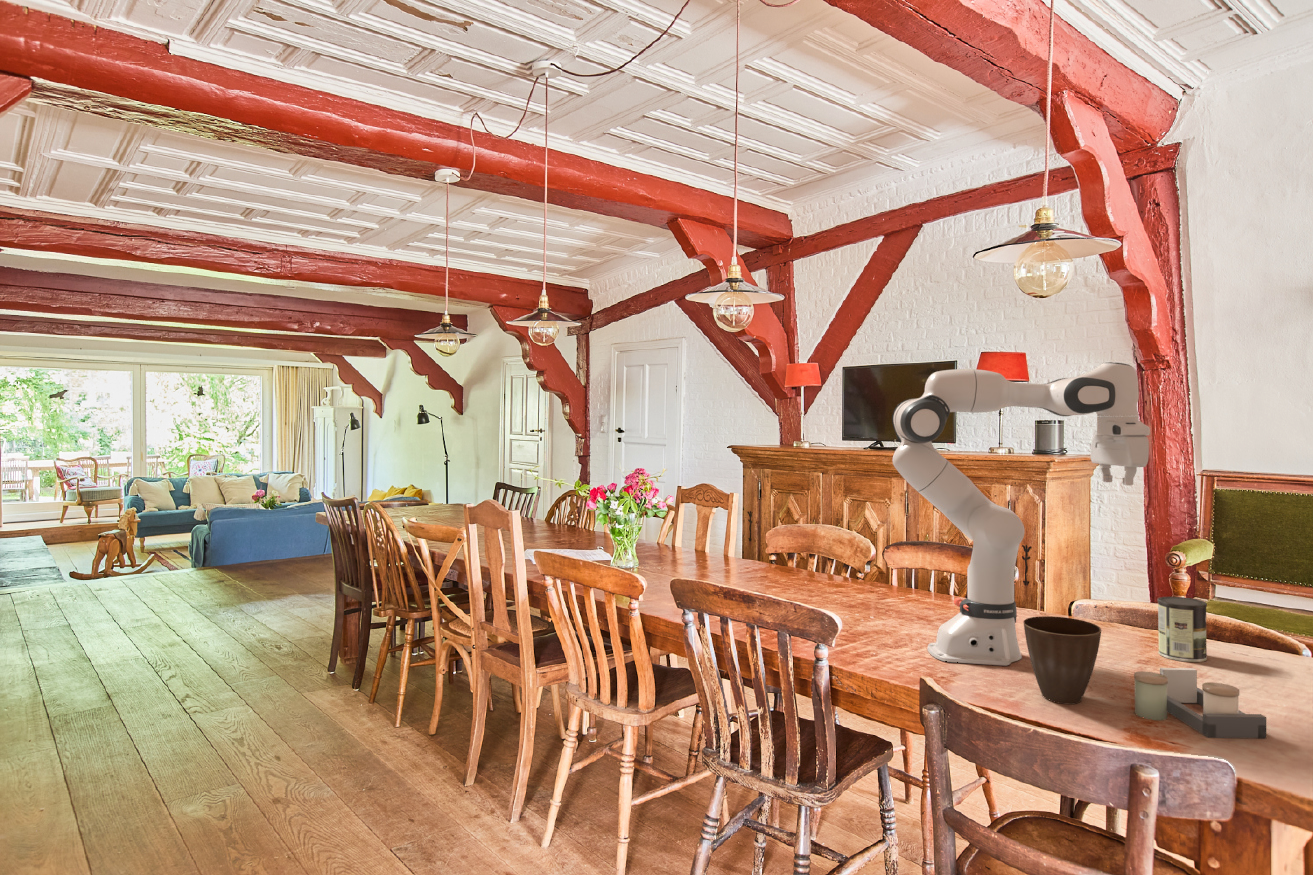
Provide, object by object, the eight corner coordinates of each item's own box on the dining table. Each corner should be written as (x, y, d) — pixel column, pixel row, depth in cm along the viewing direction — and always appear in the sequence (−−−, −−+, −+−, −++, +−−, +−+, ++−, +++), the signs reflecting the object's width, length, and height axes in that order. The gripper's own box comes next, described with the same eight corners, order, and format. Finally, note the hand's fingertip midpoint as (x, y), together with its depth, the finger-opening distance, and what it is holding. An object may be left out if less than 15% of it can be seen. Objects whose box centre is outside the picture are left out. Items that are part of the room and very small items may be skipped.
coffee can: (1194, 650, 196) (1194, 596, 196) (1215, 663, 186) (1215, 606, 186) (1150, 649, 199) (1150, 595, 198) (1168, 661, 188) (1168, 604, 188)
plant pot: (1118, 707, 159) (1118, 631, 159) (1057, 714, 156) (1056, 636, 156) (1066, 683, 174) (1065, 614, 173) (1008, 689, 171) (1008, 618, 170)
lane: (1207, 737, 144) (1207, 716, 143) (1144, 697, 164) (1144, 679, 164) (1266, 738, 143) (1266, 717, 143) (1195, 697, 164) (1195, 679, 164)
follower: (1163, 702, 161) (1163, 669, 161) (1153, 696, 164) (1153, 664, 164) (1197, 702, 160) (1196, 669, 160) (1186, 696, 164) (1186, 664, 164)
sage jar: (1144, 720, 152) (1143, 680, 152) (1128, 709, 158) (1128, 671, 158) (1174, 720, 152) (1174, 681, 152) (1157, 709, 158) (1157, 671, 157)
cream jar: (1214, 734, 145) (1214, 692, 145) (1195, 722, 151) (1195, 682, 151) (1246, 734, 145) (1246, 692, 144) (1226, 722, 150) (1226, 682, 150)
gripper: (1083, 427, 199) (1083, 480, 199) (1126, 428, 179) (1126, 487, 179) (1108, 427, 199) (1108, 480, 199) (1154, 428, 178) (1154, 487, 179)
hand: (1117, 483), depth 189 cm, fingers open, 8 cm apart
